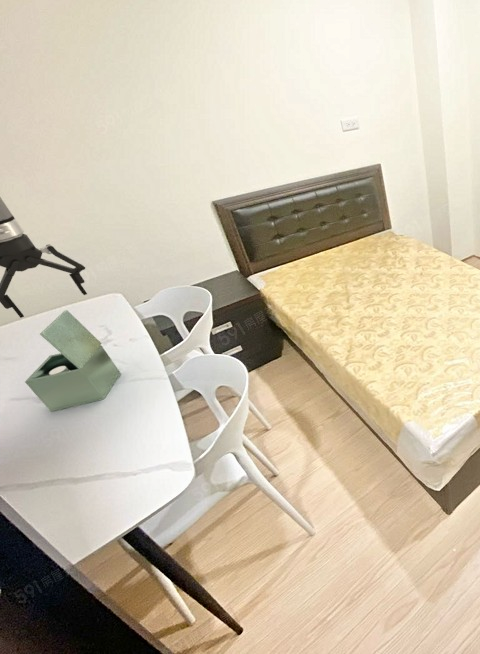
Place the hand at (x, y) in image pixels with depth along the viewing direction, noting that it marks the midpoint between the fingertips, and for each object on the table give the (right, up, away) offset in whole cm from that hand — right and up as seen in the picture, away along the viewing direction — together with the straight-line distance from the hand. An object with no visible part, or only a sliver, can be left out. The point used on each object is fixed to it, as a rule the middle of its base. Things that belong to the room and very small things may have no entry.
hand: (54, 304), depth 116 cm
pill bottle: (-8, -30, +13) cm, 34 cm away
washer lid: (-1, -11, +6) cm, 13 cm away
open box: (-5, -30, +15) cm, 34 cm away
